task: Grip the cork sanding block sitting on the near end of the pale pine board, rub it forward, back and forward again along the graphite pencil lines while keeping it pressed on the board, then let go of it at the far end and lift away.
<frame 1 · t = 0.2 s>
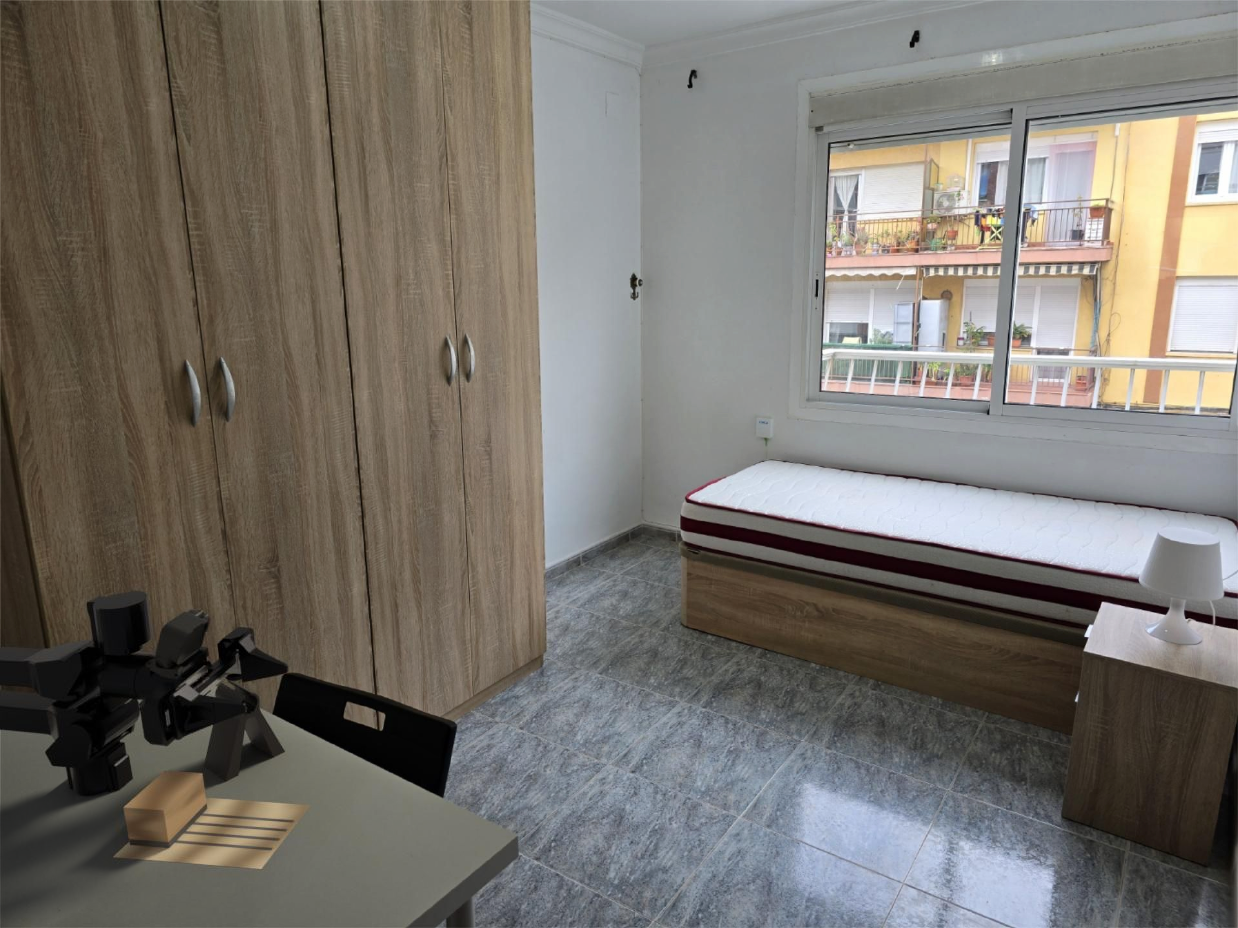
hand: (267, 687, 96), 16 cm above the table, tool horizontal, fingers open, 9 cm apart
phone stand: (246, 767, 107), on the table
sanding block: (169, 825, 94), point 1 cm above the table, touching pine board
pine board: (217, 838, 93), on the table
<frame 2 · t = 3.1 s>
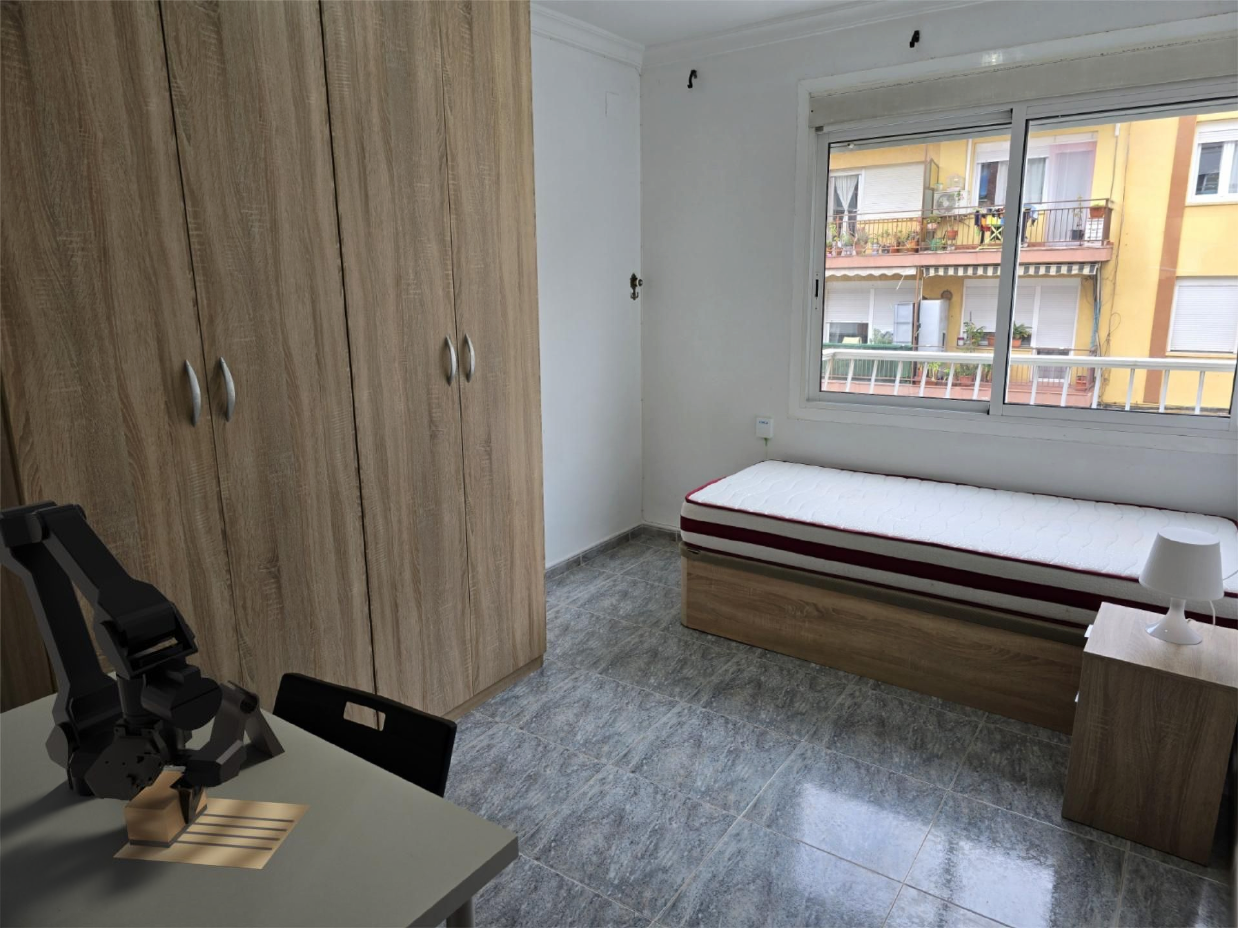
hand: (169, 820, 93), 2 cm above the table, tool pointing down, fingers closed on sanding block, 5 cm apart
sanding block: (169, 825, 94), point 1 cm above the table, touching gripper, pine board
everything else where it was.
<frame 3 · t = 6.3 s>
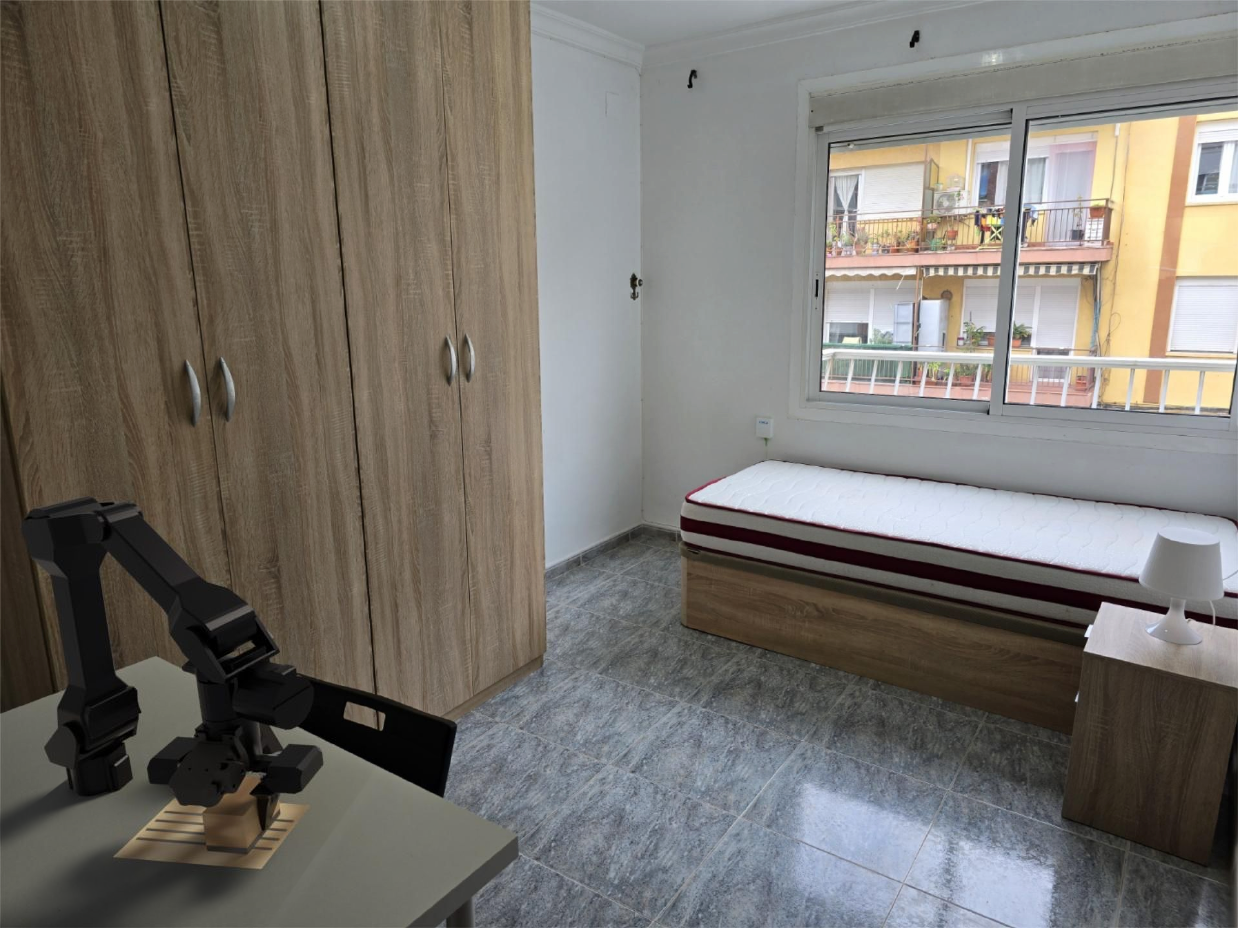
hand: (244, 826, 92), 2 cm above the table, tool pointing down, fingers closed on sanding block, 5 cm apart
sanding block: (245, 831, 92), point 1 cm above the table, touching gripper
everything else where it was.
when the fingers open (2 cm above the table, at t = 10.4 s): sanding block stays where it is, resting on pine board.
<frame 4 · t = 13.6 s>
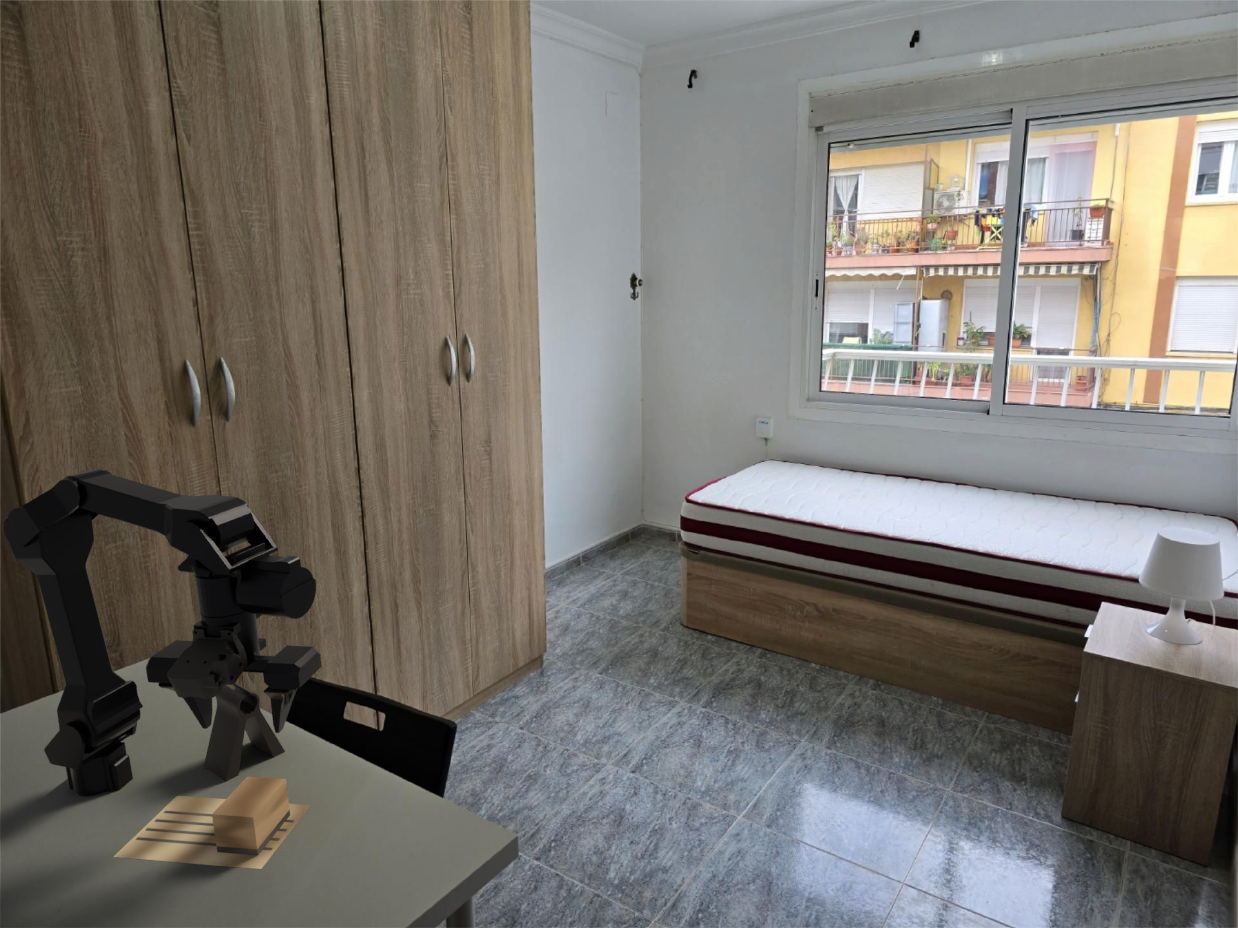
hand: (243, 728, 93), 13 cm above the table, tool pointing down, fingers open, 9 cm apart
sanding block: (255, 832, 92), point 1 cm above the table, touching pine board
everything else where it was.
at the end: sanding block inside the target area (0.5 cm from its centre), point 1.2 cm above the table; sanding block moved 11.0 cm from its start; the gripper is holding nothing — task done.
